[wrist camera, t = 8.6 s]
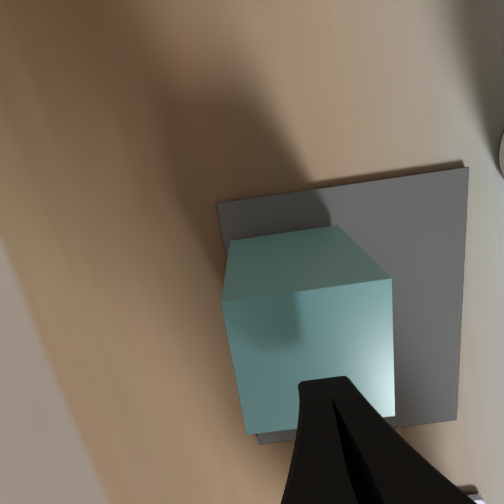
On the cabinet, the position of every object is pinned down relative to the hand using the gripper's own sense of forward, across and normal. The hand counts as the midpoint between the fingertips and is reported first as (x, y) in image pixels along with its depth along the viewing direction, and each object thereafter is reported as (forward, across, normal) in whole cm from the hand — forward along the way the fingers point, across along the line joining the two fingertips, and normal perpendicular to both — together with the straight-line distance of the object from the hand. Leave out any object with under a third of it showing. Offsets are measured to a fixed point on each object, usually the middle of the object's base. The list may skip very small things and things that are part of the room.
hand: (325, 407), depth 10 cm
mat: (+9, -3, +3) cm, 10 cm away
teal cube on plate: (+8, 0, 0) cm, 9 cm away
